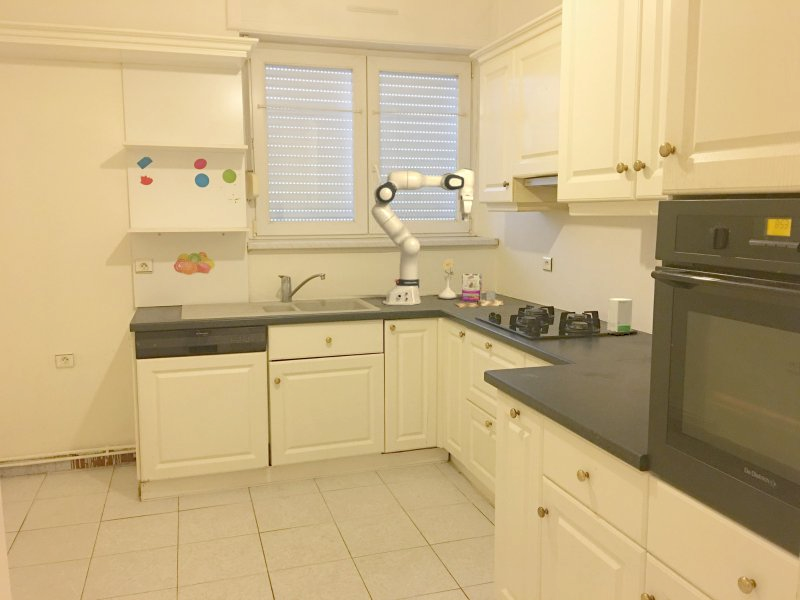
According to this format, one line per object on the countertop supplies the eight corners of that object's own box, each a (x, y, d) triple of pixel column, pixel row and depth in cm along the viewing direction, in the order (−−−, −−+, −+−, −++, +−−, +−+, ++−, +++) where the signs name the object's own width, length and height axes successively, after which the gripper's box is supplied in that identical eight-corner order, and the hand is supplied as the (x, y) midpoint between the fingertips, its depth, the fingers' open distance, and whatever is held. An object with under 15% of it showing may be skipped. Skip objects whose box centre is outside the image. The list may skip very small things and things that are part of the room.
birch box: (480, 305, 378) (480, 301, 378) (477, 304, 385) (477, 300, 385) (502, 305, 380) (503, 301, 380) (499, 303, 387) (499, 299, 387)
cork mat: (459, 307, 373) (459, 306, 373) (454, 304, 385) (454, 303, 384) (479, 306, 374) (479, 306, 374) (474, 304, 386) (474, 303, 386)
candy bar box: (481, 300, 401) (482, 273, 399) (480, 301, 396) (480, 274, 394) (463, 300, 404) (463, 273, 402) (461, 301, 400) (462, 273, 397)
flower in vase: (435, 298, 414) (436, 257, 411) (452, 297, 417) (453, 257, 414) (443, 300, 401) (443, 259, 398) (460, 299, 405) (461, 258, 402)
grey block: (486, 305, 381) (486, 291, 380) (485, 304, 383) (485, 291, 382) (495, 305, 382) (495, 291, 381) (493, 304, 384) (494, 290, 383)
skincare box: (616, 336, 285) (617, 300, 283) (605, 333, 291) (607, 298, 289) (631, 335, 288) (633, 299, 286) (620, 332, 294) (622, 297, 292)
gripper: (458, 196, 395) (456, 219, 397) (462, 197, 375) (461, 222, 377) (468, 196, 395) (467, 219, 398) (474, 197, 375) (472, 222, 378)
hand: (464, 221), depth 387 cm, fingers open, 8 cm apart
